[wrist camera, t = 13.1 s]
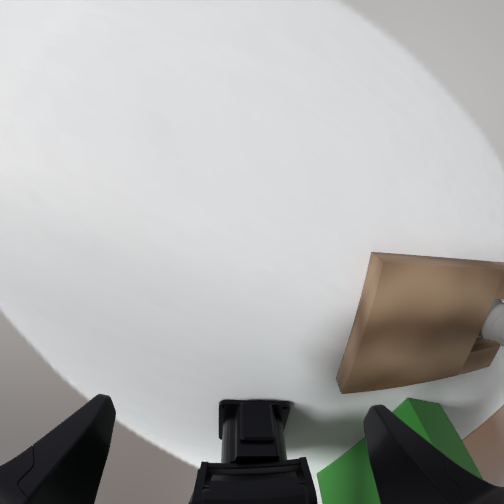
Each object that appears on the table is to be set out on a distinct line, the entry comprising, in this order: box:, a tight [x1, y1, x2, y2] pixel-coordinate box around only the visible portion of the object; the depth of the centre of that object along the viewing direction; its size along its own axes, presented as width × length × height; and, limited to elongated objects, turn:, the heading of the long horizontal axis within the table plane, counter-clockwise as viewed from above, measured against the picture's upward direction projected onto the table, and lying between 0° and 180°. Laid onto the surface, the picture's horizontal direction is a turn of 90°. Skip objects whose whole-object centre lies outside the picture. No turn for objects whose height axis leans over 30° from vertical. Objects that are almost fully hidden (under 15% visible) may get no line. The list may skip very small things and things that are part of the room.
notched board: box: [336, 252, 504, 394], centre depth 21 cm, size 12×20×2 cm, turn 85°
